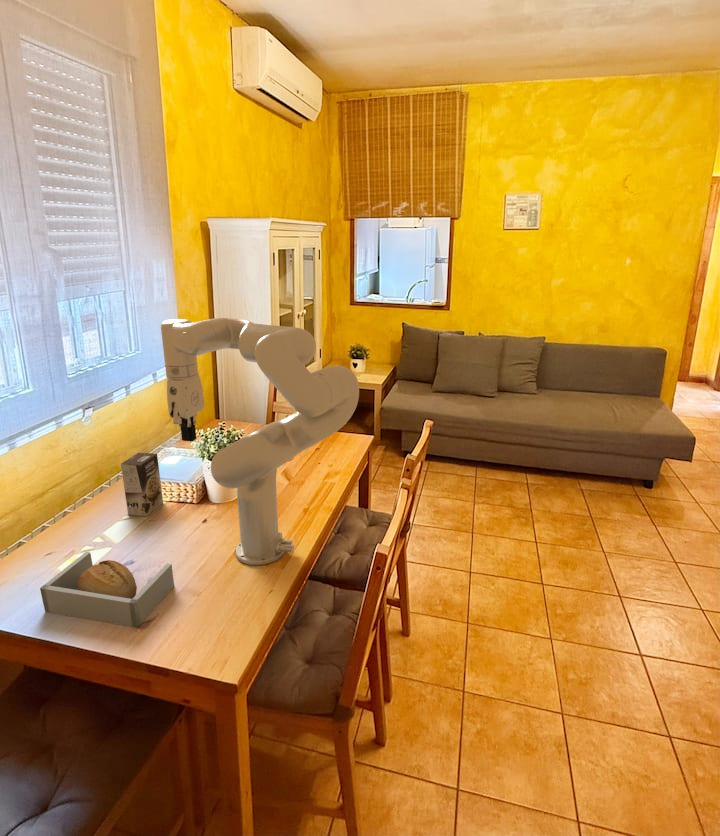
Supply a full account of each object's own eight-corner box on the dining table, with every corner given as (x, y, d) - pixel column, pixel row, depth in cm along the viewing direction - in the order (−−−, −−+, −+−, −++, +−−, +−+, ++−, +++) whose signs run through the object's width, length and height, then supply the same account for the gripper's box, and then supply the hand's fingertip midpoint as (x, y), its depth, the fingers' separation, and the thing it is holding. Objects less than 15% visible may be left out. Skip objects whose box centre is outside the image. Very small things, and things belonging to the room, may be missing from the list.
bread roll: (105, 576, 129) (100, 547, 126) (150, 595, 122) (146, 565, 120) (68, 599, 121) (62, 569, 118) (114, 621, 114) (108, 589, 112)
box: (174, 586, 125) (171, 564, 123) (137, 627, 112) (133, 603, 110) (89, 573, 130) (85, 551, 128) (45, 611, 117) (39, 588, 115)
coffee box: (147, 517, 156) (140, 465, 150) (127, 514, 157) (119, 463, 152) (164, 502, 164) (158, 453, 159) (145, 500, 165) (138, 451, 160)
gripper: (179, 378, 125) (187, 452, 131) (210, 364, 139) (216, 431, 145) (150, 376, 127) (159, 449, 133) (183, 362, 141) (190, 429, 147)
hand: (189, 439), depth 139 cm, fingers closed
